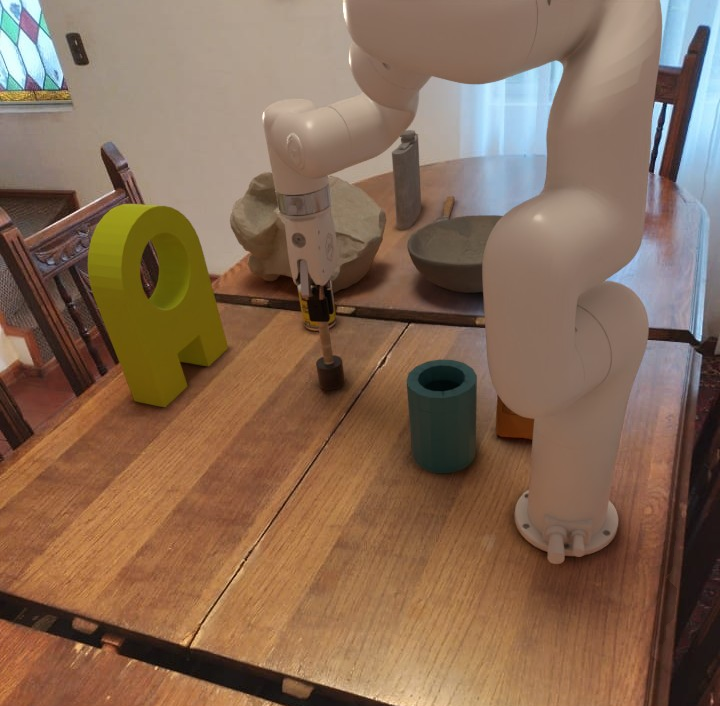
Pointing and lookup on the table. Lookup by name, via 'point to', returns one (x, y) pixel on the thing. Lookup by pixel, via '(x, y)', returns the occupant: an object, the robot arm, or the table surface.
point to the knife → (447, 208)
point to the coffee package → (512, 423)
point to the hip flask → (407, 180)
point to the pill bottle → (305, 312)
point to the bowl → (453, 251)
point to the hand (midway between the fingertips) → (322, 316)
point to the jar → (442, 415)
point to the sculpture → (268, 235)
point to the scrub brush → (329, 361)
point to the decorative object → (154, 299)
